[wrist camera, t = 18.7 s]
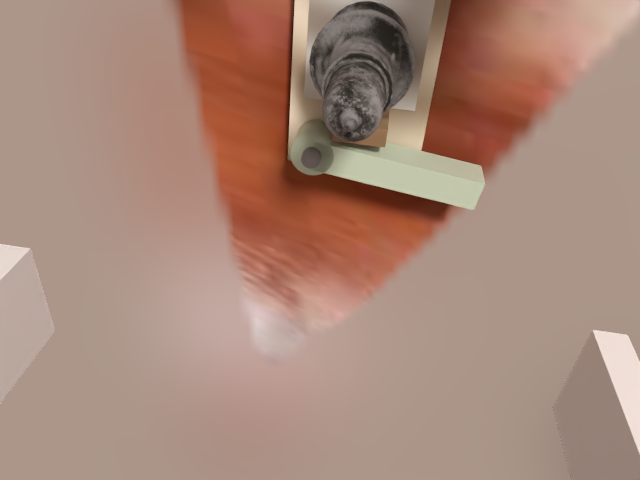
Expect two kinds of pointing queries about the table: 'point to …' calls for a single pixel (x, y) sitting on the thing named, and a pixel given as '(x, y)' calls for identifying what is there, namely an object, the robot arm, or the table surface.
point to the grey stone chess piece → (361, 68)
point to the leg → (387, 167)
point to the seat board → (412, 110)
